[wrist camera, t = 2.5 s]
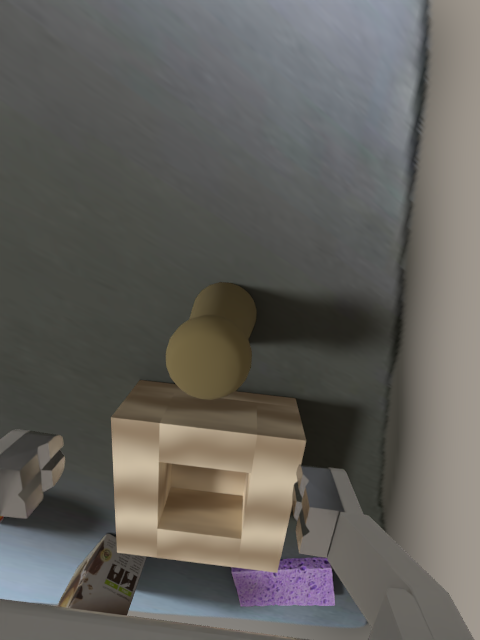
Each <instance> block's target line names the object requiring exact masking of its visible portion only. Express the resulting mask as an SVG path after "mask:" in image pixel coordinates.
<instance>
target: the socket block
mask: <svg viewBox="0 0 480 640" xmlns="http://www.w3.org/2000/svg"><path fill="white" fill-rule="evenodd" d="M111 426H112V449H113V473H114V496H115V519H116V542H117V553H124V554H132V555H140V556H148V557H156V558H164V559H172V560H180V561H188V562H196V563H204V564H212V565H220V566H228V567H236V568H244V569H252V570H260V571H268V572H276V573H277V572H278V567H279V563H280V558H281V553H282V549H283V544H284V540H285V535H286V531H287V526H288V522H289V517H290V513H291V508H292V494H293V487H294V484H295V483H296V482H297V475H296V472H297V468H298V466H299V464H300V465H301V463H302V458H303V454H304V449H305V445H306V438H305V434H304V430H303V426H302V422H301V418H300V414H299V410H298V406H297V402H296V399H295V398H288V397H279V396H271V395H262V394H254V393H246V392H237V391H235V392H233V393H231V394H229V395H228V396H226V397H222V398H217V399H213V400H208V399H199V398H196V397H193V396H190V395H188V394H187V393H185V392H184V391H182V390H181V389H180V388H179V387H178V386H177V385H176V384H170V383H161V382H153V381H144V380H139V382H138V383H137V384H136V386H135V387H134V388H133V390H132V391H131V392H130V393H129V395H128V396H127V397H126V399H125V400H124V401H123V403H122V404H121V405H120V406H119V408H118V409H117V410H116V412H115V413H114V414H113V416H112V417H111Z"/></svg>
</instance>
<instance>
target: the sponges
mask: <svg viewBox="0 0 480 640" xmlns="http://www.w3.org/2000/svg"><path fill="white" fill-rule="evenodd" d="M231 569H232V571H231V572H232V576H233V579H234V583H235V586H236V589H237V593H238V597H239V602H240V606H241V607H242V606H254V605H257V606H266V605H267V606H268V605H273V606H274V605H275V604H277V605H288V606H289V605H290V606H291V605H294V604H297V605H303V606H306V605H311V606H313V605H319V606H325V605H326V606H333V605H335V599H334V598H335V597H334V590H333V589H334V587H333V578H332V576H333V575H332V568H331V565H330V563H329V562H328V560H327V558H325V557H319V558H304V559H303V558H301V559H299V558H298V559H283V560H281V559H280V563H279V567H278V572H277V573H276V572H268V571H260V570H252V569H244V568H236V567H231Z"/></svg>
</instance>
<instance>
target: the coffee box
mask: <svg viewBox="0 0 480 640" xmlns="http://www.w3.org/2000/svg"><path fill="white" fill-rule="evenodd" d="M146 557H147V556H140V555H132V554H124V553H117V542H116V537H114V536H112V535H111V534H106V535H105V536H104V537H103V538H102V540H101V541H100V542H99V543H98V544H97V545H96V547H95V548H94V549H93V550H92V551H91V552H90V554H89V555H88V556H87V557H86V558H85V559H84V561H83V562H82V563H81V564H80V565H79V566H78V568H77V569H76V571H75V573H74V575H73V577H72V578H71V580H70V582H69V584H68V586H67V588H66V590H65V592H64V593H63V595H62V597H61V599H60V601H59V603H58V605H57V607H65V608H73V609H80V610H88V611H96V612H103V613H111V614H118V615H126V616H127V613H128V610H129V608H130V604H131V602H132V599H133V596H134V593H135V590H136V587H137V584H138V581H139V578H140V575H141V572H142V569H143V566H144V563H145V560H146Z"/></svg>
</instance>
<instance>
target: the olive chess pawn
mask: <svg viewBox="0 0 480 640" xmlns="http://www.w3.org/2000/svg"><path fill="white" fill-rule="evenodd" d="M256 315H257V310H256V307H255V303H254V301H253V299H252V298H251V296H250V295H249V293H248V292H247V291H245V290H244V289H243V288H241V287H240V286H237V285H235V284H232V283H222V282H219V283H216V284H212V285H209V286H208V287H206V288H205V289H203V290H202V291H201V292H200V294H199V295H198V296H197V298H196V299H195V302H194V305H193V308H192V312H191V315H190V319H189V320H188V321H186V322H185V323H183V324H182V325H180V326H179V328H178V329H177V330H176V331H175V333H174V334H173V335H172V337H171V338H170V340H169V344H168V347H167V350H166V367H167V369H168V372H169V374H170V377H171V378H172V380H173V381H174V382H175V383H176V385H177V386H178V387H179V388H180V389H181V390H182V391H184V392H185V393H187V394H188V395H190V396H193V397H196V398H199V399H208V400H213V399H217V398H222V397H226V396H228V395H229V394H231V393H233V392H235V391H236V390H237V389H238V388H239V387H240V386H241V385H242V384H243V383H244V381H245V380H246V378H247V375H248V373H249V371H250V368H251V358H252V351H251V347H250V344H249V340H248V339H249V337H250V335H251V332H252V330H253V327H254V325H255V322H256Z"/></svg>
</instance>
